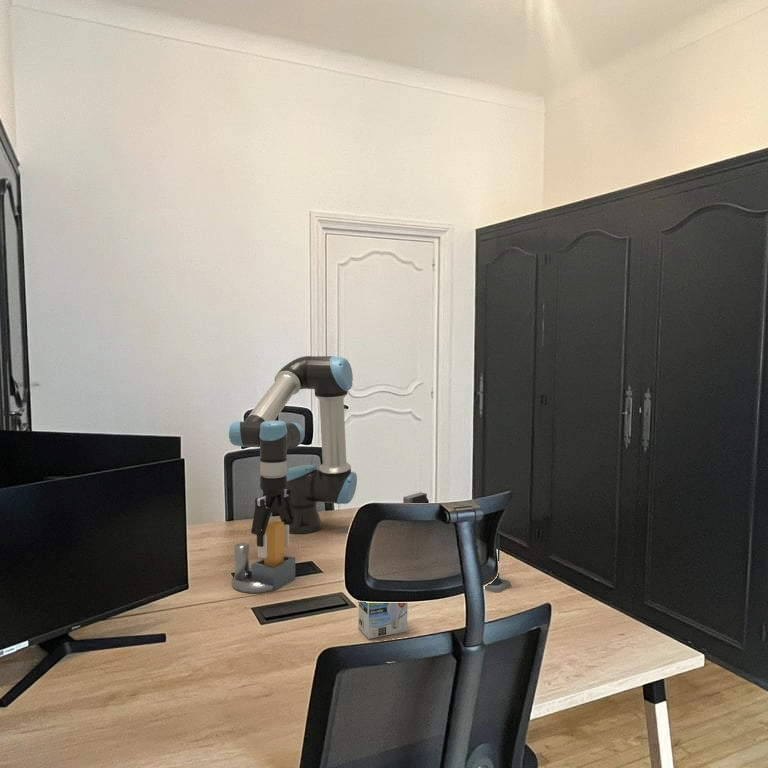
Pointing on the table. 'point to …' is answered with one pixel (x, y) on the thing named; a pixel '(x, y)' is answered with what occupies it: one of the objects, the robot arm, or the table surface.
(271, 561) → the orange rectangular block
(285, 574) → the bracket
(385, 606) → the light bulb box
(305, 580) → the table surface
